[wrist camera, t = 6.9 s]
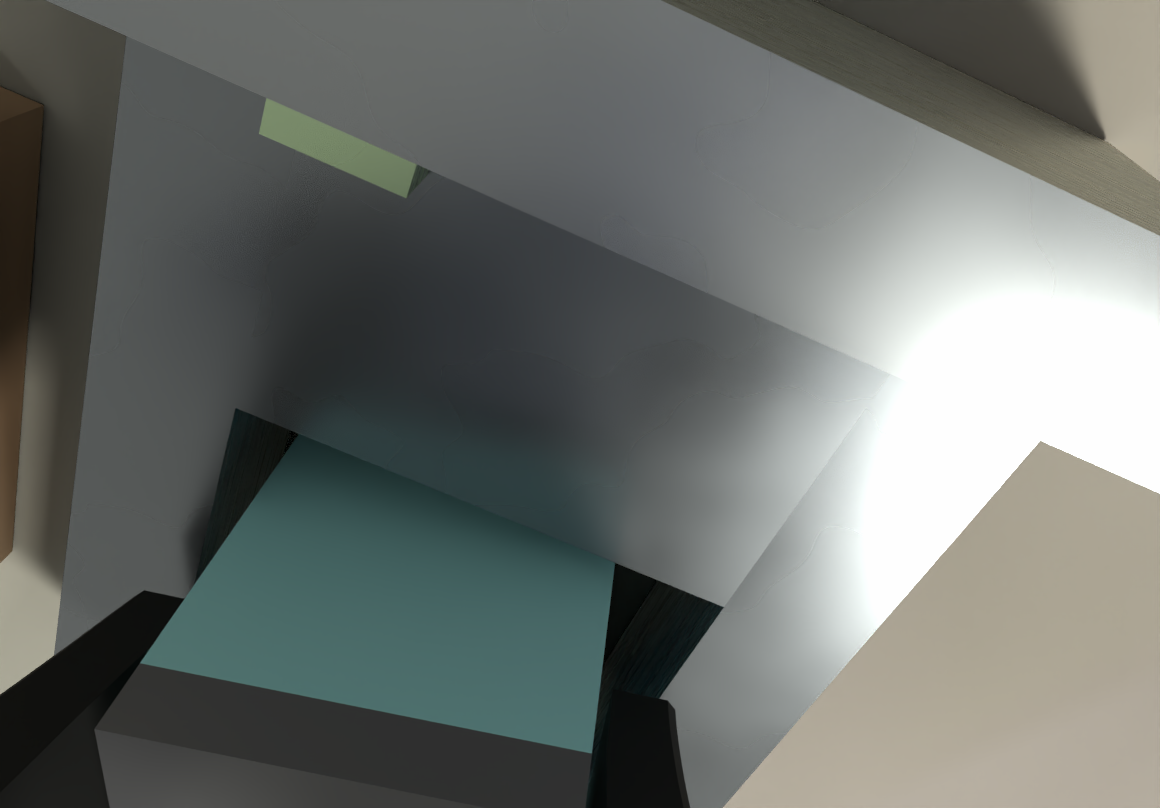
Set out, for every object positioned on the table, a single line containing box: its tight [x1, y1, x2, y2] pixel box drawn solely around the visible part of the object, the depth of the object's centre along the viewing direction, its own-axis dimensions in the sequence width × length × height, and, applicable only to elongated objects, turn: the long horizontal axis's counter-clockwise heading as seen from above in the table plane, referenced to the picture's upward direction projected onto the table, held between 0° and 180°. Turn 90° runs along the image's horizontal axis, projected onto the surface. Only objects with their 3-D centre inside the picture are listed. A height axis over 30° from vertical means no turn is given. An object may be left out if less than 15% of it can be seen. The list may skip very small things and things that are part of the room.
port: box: [46, 0, 1160, 808], centre depth 10 cm, size 8×13×4 cm, turn 158°
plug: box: [94, 434, 615, 808], centre depth 11 cm, size 4×4×6 cm
